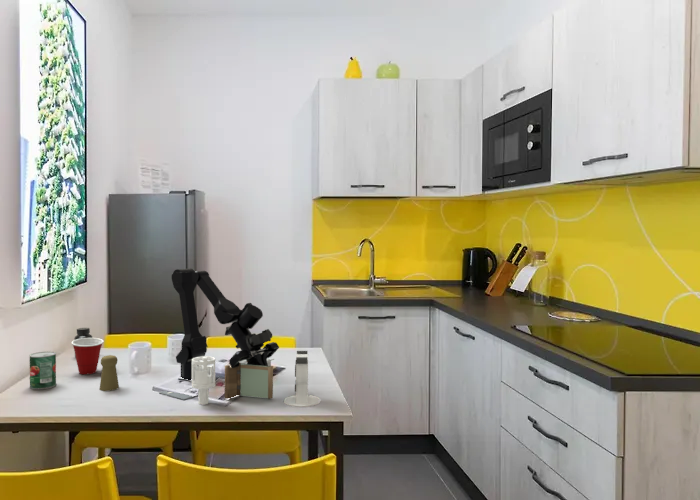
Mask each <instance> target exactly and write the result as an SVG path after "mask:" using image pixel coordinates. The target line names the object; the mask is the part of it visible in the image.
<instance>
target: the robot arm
mask: <svg viewBox="0 0 700 500" xmlns="http://www.w3.org/2000/svg"><path fill="white" fill-rule="evenodd" d="M172 272H173V273H171V281H172V286H173V288H174V289H175V290H176V292H177V293H178V296H179V301H180V308H181V315H182V324H183V329H184V332H183V333H184V336H183V338H182V340H181V350H180V351H179V352H178V354H177V355H176V356H175V361H176V363H177V364H180V377H182V378H184V379H188V380H191V379H192V359H193V358H196V357H202V356H206V353H207V351H208V342H207V337H206V335H204V336H203V334H201V332H200V329H199V322H198V316H197V315H198V314H197V306H196V301H195V294H194V293H195V290H196V287H197V286H198V287H199V290H201V291H202V293H203V294H204V295H205V298H207V300H208V301H209V302H210V304H211V305H212V307H213V314H214V315H215V318H216V319H217V321H218V323H219V324H221V325H228V324H230V325H229V326H226V328H225V332H224V335H225V336H229V335H230V336H231V337H232V338H233V340H234V341H235V343H236V344H235V348H236V349H240V350H238V351H236V352H235V353H234V354H233V355H232V356H231V358H230V359H229V360H228V361H229V365H230V366H231V367H232V368H236V367H238V366H239V364H240V363H239V361H243V360H247V364H249V365H261V366H268V364H267V359H270V358H271V357H272V356H273V355H274V354H275V353H276V351H278V350H279V349H280V346H279V345H278V343H277V342H274V341H273V342H271V341H272V338H273V333H272V331H271V330H270V329H269V328H267V329H264V330H262V331H261V332H260V333H257V334H256V333H252V332H251V331H250V329H253V328H254V327H255V326H256V325H257V323H258V322H259V321H260V320H261V319H262V318H263V317H264V315H263V311H262V310H261V309H260V308H259V307H257V306H256V305H253V304H252V303H251V302H248V303H246V304H244V307H243V308H242V309H240V307H239V306H238V305H236V304H235V303H234V302H233V301H231V300H229V299H227V297H225V295H224V294H223V293H222V291H221V290H220V289H219V287H218V286H217V284H216V283H215V282H214V280H212V278H211V277H210V274H209V272H208V271H206V270H196V271H195V270H194V269H193V268H177V269H175V270H173V271H172ZM267 342H268V343H267ZM265 343H266V344H265ZM197 366H199V365H197ZM188 380H187V381H188Z"/></svg>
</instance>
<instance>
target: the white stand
mask: <svg viewBox="0 0 700 500" xmlns="http://www.w3.org/2000/svg"><path fill="white" fill-rule="evenodd" d="M294 377H295V381H294V382H295V383H294V392H295V395H290V396H287V397H285V398H284V400H283V402H284V404H285V405H287V406H289V407H295V408H308V407H312V406H316V405H318V404H320V402H321V399H320V398H319V397H318V396H315V395H311V394H310V395H309V394H308V393H309V388H308V387H309V384H308V383H309V354H308V350H297V351H296V358H295V365H294Z"/></svg>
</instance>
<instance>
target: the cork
mask: <svg viewBox="0 0 700 500" xmlns="http://www.w3.org/2000/svg"><path fill="white" fill-rule="evenodd" d="M117 364H118V357H117V356H116V355H111V354H109V355H103V356H102V357H101V358H100V366H101V368H102V369H101V375H100V383H99V391H101V392H102V391H103V392H111V391H116V390H117V389H119V388H120V386H119V385H120V384H119V379H118V372H117Z"/></svg>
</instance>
